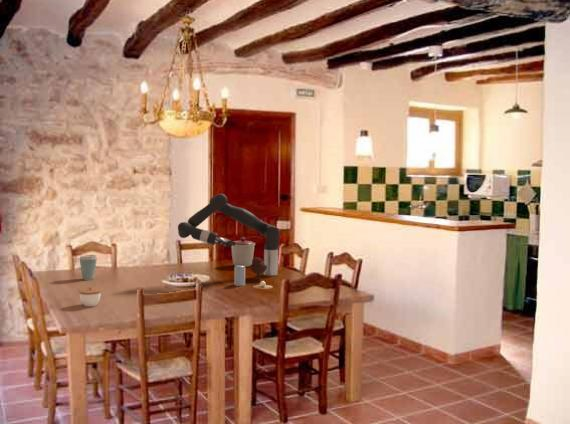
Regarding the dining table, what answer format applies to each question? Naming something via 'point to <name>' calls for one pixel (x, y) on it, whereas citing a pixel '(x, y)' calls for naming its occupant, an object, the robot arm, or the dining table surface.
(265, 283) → the egg
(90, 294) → the lidded jar
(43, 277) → the dining table surface
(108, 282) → the dining table surface
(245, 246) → the canister
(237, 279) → the silver soda can
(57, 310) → the dining table surface
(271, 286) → the cork mat
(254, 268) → the ice cream bowl
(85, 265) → the disposable coffee cup
